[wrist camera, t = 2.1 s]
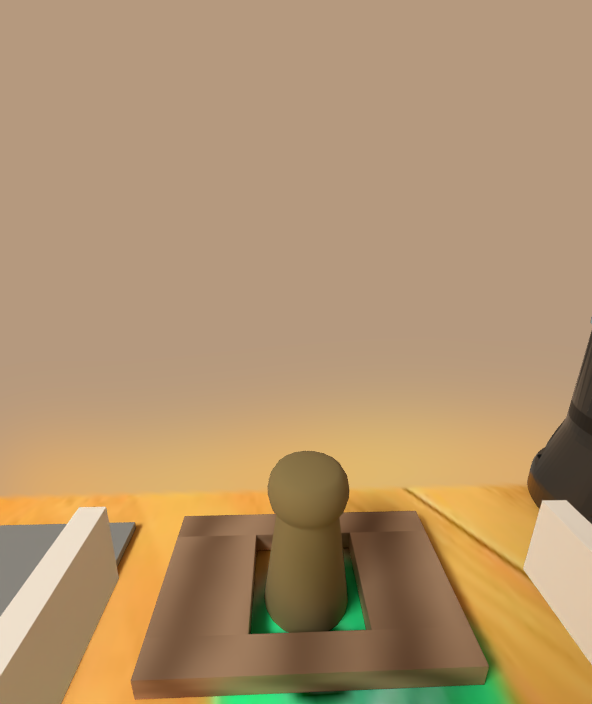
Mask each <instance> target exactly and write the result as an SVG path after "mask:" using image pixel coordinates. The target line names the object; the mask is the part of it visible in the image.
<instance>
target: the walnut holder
mask: <svg viewBox="0 0 592 704" xmlns="http://www.w3.org/2000/svg"><path fill="white" fill-rule="evenodd" d="M275 519H276V514H262V515H218V516H185V517H184V520H183V523H182V526H181V529H180V532H179V535H178V538H177V541H176V545H175V548H174V551H173V554H172V557H171V560H170V563H169V566H168V569H167V572H166V575H165V578H164V581H163V584H162V587H161V590H160V593H159V596H158V599H157V602H156V605H155V608H154V612H153V615H152V618H151V621H150V624H149V627H148V630H147V633H146V636H145V639H144V642H143V645H142V648H141V651H140V654H139V657H138V660H137V663H136V666H135V669H134V672H133V675H132V679H131V684H132V689H133V694H134V698H135V699H157V698H180V697H204V696H227V695H251V694H274V693H298V692H321V691H345V690H368V689H392V688H415V687H439V686H462V685H484V683H485V680H486V676H487V672H488V668H489V665H488V663H487V661H486V659H485V657H484V654H483V652H482V650H481V648H480V646H479V644H478V642H477V640H476V637H475V635H474V633H473V631H472V629H471V627H470V625H469V623H468V621H467V618H466V616H465V614H464V612H463V610H462V608H461V606H460V604H459V601H458V599H457V597H456V595H455V593H454V591H453V589H452V587H451V584H450V582H449V580H448V578H447V576H446V574H445V572H444V570H443V568H442V565H441V563H440V561H439V559H438V557H437V555H436V553H435V551H434V548H433V546H432V544H431V542H430V540H429V538H428V536H427V534H426V532H425V529H424V527H423V525H422V523H421V521H420V519H419V517H418V515H417V512H416V511H391V512H348V513H343V514H342V515H341V516H340V527H341V537H342V547H343V548H349V551H350V556H351V560H352V565H353V570H354V575H355V579H356V584H357V589H358V594H359V598H360V603H361V608H362V613H363V617H364V622H365V627H366V630H354V631H326V632H299V633H271V634H250V632H251V619H252V605H253V592H254V578H255V565H256V551H257V550H271V546H272V539H273V533H274V526H275Z"/></svg>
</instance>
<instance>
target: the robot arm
mask: <svg viewBox="0 0 592 704" xmlns="http://www.w3.org/2000/svg"><path fill="white" fill-rule="evenodd" d="M591 323H592V317H591ZM527 483H528V489H529V492H530V495H531V497H532V498H533V500H534V502H535V503H536V504H537V506H538V507H539V508H540V510H539V514H538V517H537V521H536V524H535V528H534V531H533V535H532V539H531V542H530V546H529V549H528V553H527V556H526V560H525V564H524V567H523V569H524V571H525V572H526V574H527V575H528V576H529V578H530V579H531V581H532V582H533V583H534V585H535V586H536V588H537V589H538V590H539V592H540V593H541V595H542V596H543V597H544V599H545V600H546V602H547V603H548V604H549V606H550V607H551V609H552V610H553V611H554V613H555V614H556V616H557V617H558V618H559V620H560V621H561V623H562V624H563V625H564V627H565V628H566V630H567V631H568V632H569V634H570V635H571V637H572V638H573V639H574V641H575V642H576V644H577V645H578V646H579V648H580V649H581V651H582V652H583V653H584V655H585V656H586V658H587V659H588V660H589V662H590V663H591V665H592V332H591V335H590V338H589V342H588V345H587V349H586V353H585V355H584V359H583V363H582V366H581V370H580V373H579V376H578V379H577V383H576V386H575V390H574V393H573V396H572V400H571V404H570V407H569V411H568V414H567V417H566V419H565V420H564V421H563V423H562V424H561V425H560V426H559V427H558V429H557V430H556V431H555V433H554V434H553V435H552V437H551V438H550V440H549V441H548V443H547V445H546V447H545V448H543V449H542V450H540V451H539V452H538V454H537V455H536V456H535V457H534V459H533V461H532V465H531V468H530V472H529V476H528V481H527ZM118 579H119V576H118V570H117V565H116V559H115V554H114V548H113V543H112V537H111V531H110V526H109V520H108V515H107V509H106V507H79V508H78V510H77V511H76V512H75V514H74V515H73V517H72V518H71V519H70V521H69V522H68V523H67V525H66V526H65V528H64V529H63V530H62V532H61V533H60V535H59V536H58V537H57V539H56V540H55V542H54V543H53V544H52V546H51V547H50V548H49V550H48V551H47V553H46V554H45V555H44V557H43V558H42V560H41V561H40V562H39V564H38V565H37V566H36V568H35V569H34V571H33V572H32V573H31V575H30V576H29V578H28V579H27V580H26V582H25V583H24V584H23V586H22V587H21V589H20V590H19V591H18V593H17V594H16V596H15V597H14V598H13V600H12V601H11V603H10V604H9V605H8V607H7V608H6V609H5V611H4V612H3V614H2V615H1V616H0V704H61V702H62V700H63V698H64V696H65V694H66V691H67V689H68V687H69V685H70V683H71V681H72V679H73V676H74V674H75V672H76V670H77V668H78V666H79V663H80V661H81V659H82V657H83V655H84V653H85V650H86V648H87V646H88V644H89V642H90V640H91V637H92V635H93V633H94V631H95V629H96V627H97V624H98V622H99V620H100V618H101V616H102V614H103V611H104V609H105V607H106V605H107V603H108V601H109V598H110V596H111V594H112V592H113V590H114V588H115V585H116V583H117V581H118Z"/></svg>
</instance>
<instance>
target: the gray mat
mask: <svg viewBox="0 0 592 704" xmlns="http://www.w3.org/2000/svg"><path fill="white" fill-rule="evenodd" d="M66 525H67V524H45V525H2V526H0V616H1V615H2V614H3V612H4V611H5V609H6V608H7V607H8V605H9V604H10V603H11V601H12V600H13V598H14V597H15V596H16V594H17V593H18V591H19V590H20V589H21V587H22V586H23V584H24V583H25V582H26V580H27V579H28V578H29V576H30V575H31V573H32V572H33V571H34V569H35V568H36V566H37V565H38V564H39V562H40V561H41V560H42V558H43V557H44V555H45V554H46V553H47V551H48V550H49V548H50V547H51V546H52V544H53V543H54V542H55V540H56V539H57V537H58V536H59V535H60V533H61V532H62V530H63V529H64V528H65V526H66ZM109 526H110V531H111V537H112V543H113V548H114V554H115V559H116V565H117V566H118V564H119V562H120V560H121V558H122V556H123V554H124V552H125V550H126V547H127V545H128V543H129V541H130V539H131V537H132V535H133V533H134V531H135V529H136V526H135V522H129V523H109Z"/></svg>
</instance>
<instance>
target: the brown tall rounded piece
mask: <svg viewBox="0 0 592 704" xmlns="http://www.w3.org/2000/svg"><path fill="white" fill-rule="evenodd" d="M268 496H269V500H270V503H271V506H272V509H273V511H274V513H275V514H276V519H275V526H274V533H273V539H272V546H271V553H270V560H269V566H268V573H267V580H266V587H265V594H264V599H265V604H266V609H267V611H268V613H269V614H270V616H271V618H272V620H273V621H274V622H275V623H276V624H277V625H278V626H280V627H281V628H282V629H283V630H284V631H287V632H289V633H299V632H326V631H329V630H331V629H332V628H333V627H335V626H336V625H337V624H338V623H339V621H340V620H341V618H342V617H343V616H344V614H345V610H346V607H347V603H348V598H347V586H346V576H345V567H344V557H343V547H342V537H341V527H340V516H341V515H342V514H343V512H344V509H345V507H346V504H347V501H348V498H349V485H348V479H347V475H346V473H345V471H344V470H343V468H342V467H341V465H340V464H339V463H338V462H337V461H336V460H335V459H334V458H332V457H330V456H328V455H326V454H324V453H319V452H315V451H301V452H295V453H292V454H289V455H287V456H285V457H284V458H282V459H281V460H279V462H278V463H277V464H276V466H275V467H274V468H273V470H272V471H271V474H270V478H269V483H268Z"/></svg>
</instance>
